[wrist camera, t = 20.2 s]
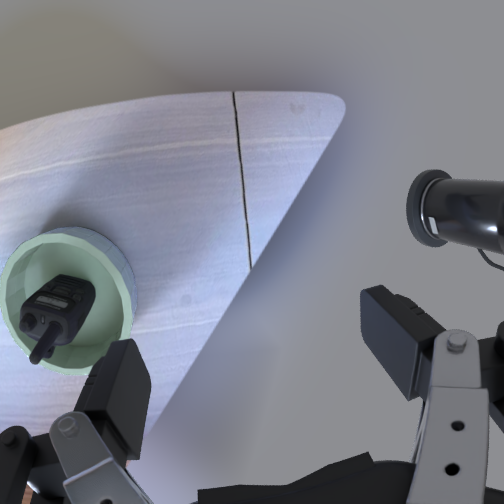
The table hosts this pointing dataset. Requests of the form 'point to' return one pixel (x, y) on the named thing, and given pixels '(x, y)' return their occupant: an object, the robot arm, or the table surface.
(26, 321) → the two-way radio
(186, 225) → the table surface
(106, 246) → the pot
